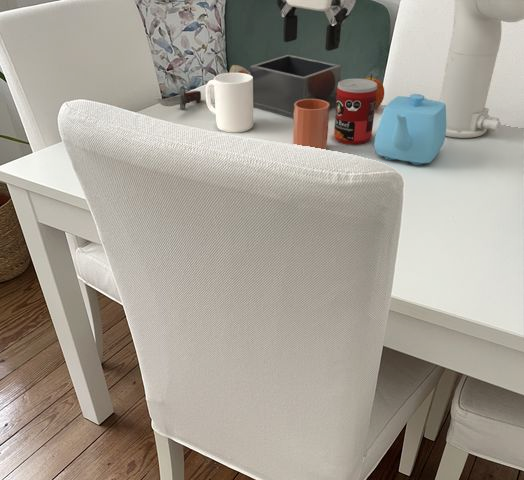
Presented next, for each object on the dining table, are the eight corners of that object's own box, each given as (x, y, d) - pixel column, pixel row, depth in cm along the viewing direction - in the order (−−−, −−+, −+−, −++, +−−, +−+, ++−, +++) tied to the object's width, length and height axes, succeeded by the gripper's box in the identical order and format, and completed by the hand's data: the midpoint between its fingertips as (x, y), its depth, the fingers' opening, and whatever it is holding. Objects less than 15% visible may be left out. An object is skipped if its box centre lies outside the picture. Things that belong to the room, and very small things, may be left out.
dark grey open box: (338, 105, 138) (341, 65, 132) (302, 120, 130) (304, 78, 124) (287, 92, 146) (288, 54, 140) (250, 106, 138) (250, 66, 132)
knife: (161, 122, 130) (159, 99, 126) (156, 121, 130) (154, 98, 127) (201, 101, 141) (200, 79, 138) (197, 100, 142) (195, 78, 138)
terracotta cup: (332, 149, 117) (336, 103, 111) (312, 159, 113) (315, 112, 107) (306, 141, 120) (308, 96, 114) (286, 150, 116) (287, 104, 110)
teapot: (359, 168, 109) (366, 106, 102) (389, 138, 121) (397, 80, 114) (423, 180, 105) (435, 116, 97) (447, 148, 117) (460, 89, 109)
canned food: (327, 135, 123) (330, 80, 115) (359, 130, 125) (364, 76, 118) (344, 147, 117) (349, 91, 110) (378, 141, 120) (385, 86, 112)
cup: (239, 135, 123) (237, 85, 116) (196, 125, 128) (192, 76, 121) (260, 124, 128) (260, 76, 121) (218, 114, 133) (216, 68, 127)
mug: (271, 98, 143) (253, 64, 135) (237, 116, 146) (218, 83, 138) (268, 82, 147) (250, 48, 140) (235, 99, 150) (216, 67, 143)
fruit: (353, 104, 138) (356, 69, 133) (382, 105, 138) (386, 70, 132) (352, 113, 133) (355, 77, 128) (382, 115, 132) (386, 78, 127)
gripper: (374, -70, 91) (361, 49, 102) (290, -75, 100) (287, 34, 111) (346, -67, 87) (336, 56, 98) (262, -73, 95) (261, 41, 106)
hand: (310, 44), depth 104 cm, fingers open, 9 cm apart
